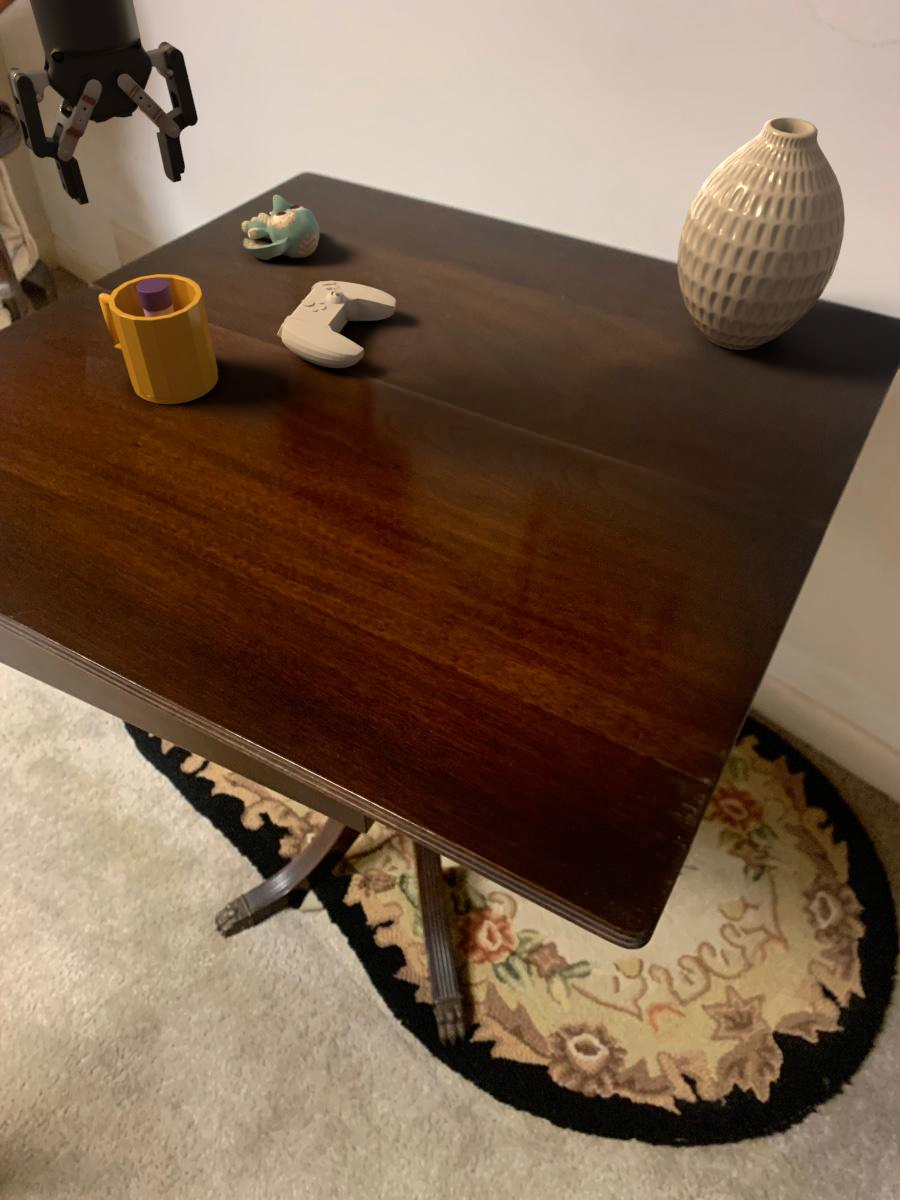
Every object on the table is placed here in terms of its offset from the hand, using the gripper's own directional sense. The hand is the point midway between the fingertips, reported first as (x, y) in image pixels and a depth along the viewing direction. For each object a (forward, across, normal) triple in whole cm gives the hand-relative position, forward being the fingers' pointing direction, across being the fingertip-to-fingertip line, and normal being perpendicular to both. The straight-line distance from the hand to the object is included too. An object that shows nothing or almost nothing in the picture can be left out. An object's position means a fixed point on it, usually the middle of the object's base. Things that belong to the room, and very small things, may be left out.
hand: (128, 190), depth 79 cm
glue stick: (+19, 0, 0) cm, 19 cm away
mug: (+20, +1, -1) cm, 20 cm away
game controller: (+20, -18, +2) cm, 27 cm away
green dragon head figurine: (+20, -23, -20) cm, 37 cm away
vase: (+20, -56, +27) cm, 65 cm away
